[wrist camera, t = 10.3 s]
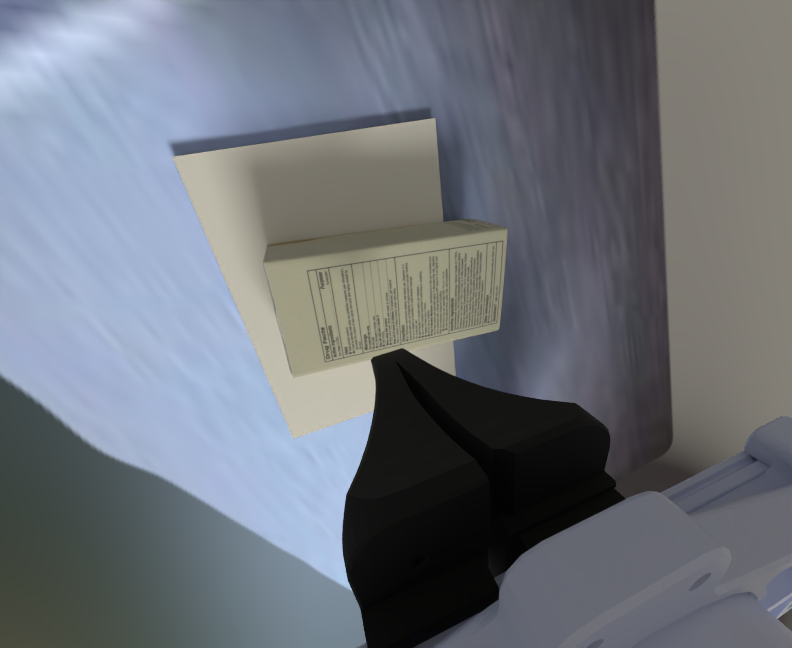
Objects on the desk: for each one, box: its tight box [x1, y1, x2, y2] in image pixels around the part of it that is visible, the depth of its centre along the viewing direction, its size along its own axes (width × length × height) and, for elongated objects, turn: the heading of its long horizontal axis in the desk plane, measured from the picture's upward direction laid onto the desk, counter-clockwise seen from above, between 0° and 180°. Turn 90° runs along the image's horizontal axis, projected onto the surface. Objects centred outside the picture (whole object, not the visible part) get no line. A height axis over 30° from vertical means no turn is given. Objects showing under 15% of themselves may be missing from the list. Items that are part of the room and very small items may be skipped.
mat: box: [172, 118, 456, 439], centre depth 20 cm, size 18×13×1 cm
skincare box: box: [263, 219, 508, 378], centre depth 18 cm, size 6×4×12 cm
